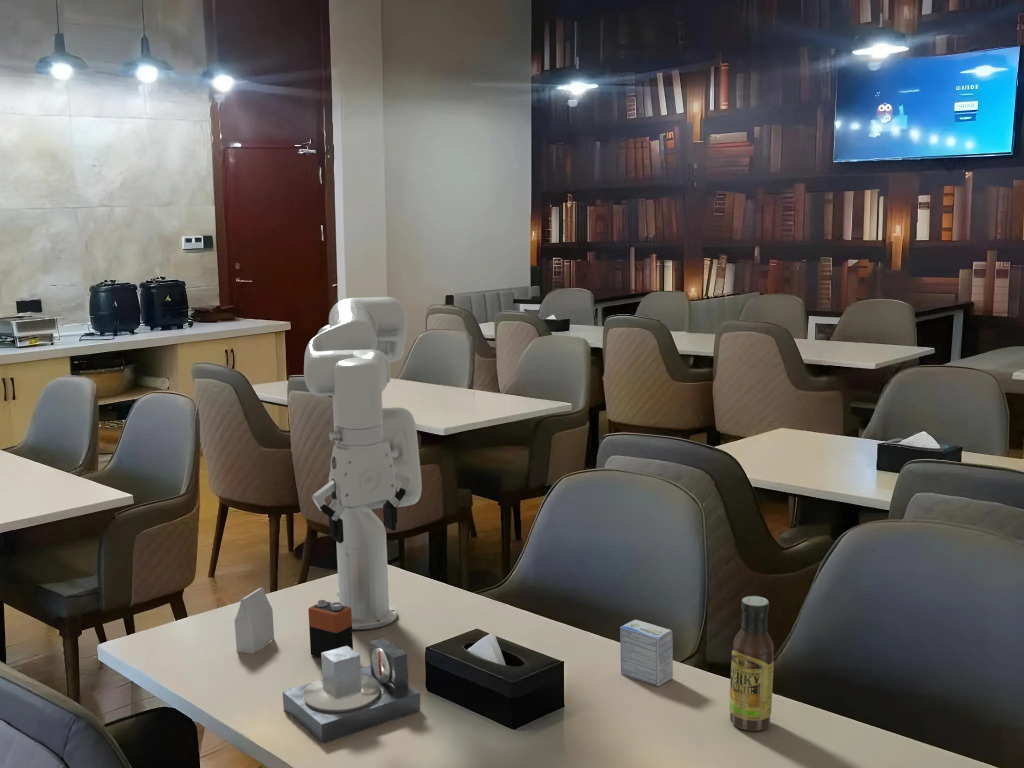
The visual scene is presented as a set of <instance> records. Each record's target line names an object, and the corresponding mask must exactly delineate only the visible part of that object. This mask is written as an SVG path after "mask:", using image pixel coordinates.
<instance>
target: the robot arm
mask: <svg viewBox="0 0 1024 768" xmlns="http://www.w3.org/2000/svg"><path fill="white" fill-rule="evenodd" d="M328 315H329V316H328V324H327V325H326V324H325V326H323V327H321V328H320V329H319V330H318V332H317V334H316V335H315V336H314V337H312V338H311V339H310V340H309V342H308V343H307V346H306V348H305V352H304V357H303V358H304V359H303V361H304V364H303V378H304V383H305V386H306V388H307V389H308V391H309V392H310V393H311V394H313V395H315V396H317V397H329V396H331V397H332V411H333V412H332V414H333V432H331V431H330V432H329V433H328V438H329V440H330V441H335V442H334V444H333V447H332V451H331V452H332V453H331V457H330V458H331V459H330V469H329V471H330V472H329V476H328V482H327V484H325V485H324V486H323V487H321V488H320V489H319V490H317V491H316V492H314V493H313V494H312V495H311V499H312V501H313V502H314V504H315V505H316V507H317V509H318V510H319V511H320V512H321V513H323V514H324V515H326V516H327V517H328V531H329V537H331V538H332V540H333V541H335V542H336V561H337V562H336V563H337V577H338V578H337V581H338V591H337V592H336V597H338V602H341V603H342V605H344V606H348V607H350V608H351V614H352V630H355V631H357V630H358V631H359V630H371V629H378V628H382V627H385V626H387V625H389V624H391V623H393V622H394V621H395V620H396V619H397V617H398V608H397V607H396V606H395V605H393V604H391V603H390V599H389V596H390V595H389V578H388V577H389V575H388V574H389V571H388V548H387V532H386V529H388V530H390V531H394V532H395V531H396V530H397V524H398V508H399V507H408V506H412V505H415V504H416V503H418V501H420V498H421V496H422V490H423V489H422V487H423V486H422V471H421V464H420V463H421V461H420V454H419V453H420V451H419V442H418V441H419V440H418V432H417V426H416V422H415V418H414V415H413V414H412V413H411V411H410V410H409V409H407V408H403V407H397V406H395V407H392V406H391V407H383V392H384V390H385V389H386V387H387V385H388V384H389V383H390V382H391V378H392V377H391V376H392V368H391V367H392V365H391V363H395V362H398V361H400V360H401V359H402V358H403V356H404V354H405V349H406V342H407V333H408V319H407V318H408V317H407V313H406V310H405V307H404V306H403V304H402V302H401V301H400V300H398V298H396V297H392V296H374V297H373V296H372V297H371V296H370V297H369V296H368V297H349V298H344V299H341V300H339V301H338V302H336V303H335V304H334V305H333V306H332V308H331V309H330V312H329V314H328ZM328 496H330V499H331V502H330V504H329V506H328V504H327V502H326V498H327V497H328ZM380 508H382V514H383V516H382V517H383V522H382V520H381V519H380V518H379V517H378V515H376V513H374V511H373V510H374V509H380Z"/></svg>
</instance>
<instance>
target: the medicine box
mask: <svg viewBox="0 0 1024 768" xmlns="http://www.w3.org/2000/svg"><path fill="white" fill-rule="evenodd" d="M619 629H620V632H619V633H620V634H619V635H620V636H619V637H620V638H619V639H620V674H621V675H623V676H627V677H629V678H633V679H635V680H638V681H641V682H644V683H647V684H650V685H653V686H656V687H660V686H662V685H664V684H665V683H667V682H668V681H670V680H672V679H673V677H674V669H673V665H674V664H673V663H674V662H673V661H674V659H673V658H674V657H673V655H674V654H673V653H674V651H673V650H674V649H673V642H674V641H673V630H671V629H669V628H665V627H662V626H658V625H655V624H653V623H648V622H646V621H642V620H639V619H634V620H631V621H629V622H627V623H625V624H624V625H622V626H620V628H619Z"/></svg>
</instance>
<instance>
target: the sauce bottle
mask: <svg viewBox="0 0 1024 768" xmlns="http://www.w3.org/2000/svg"><path fill="white" fill-rule="evenodd" d="M740 607H741V608H740V609H741V623H740V625H741V626H740V630H739V631H738V632H737V634H736V635H735V637H734V640H733V643H732V650H731V662H730V663H731V666H730V684H729V688H730V689H729V711H730V713H729V715H730V716H729V721H730V722H731V723H732V724H733V725H734V726H735V727H737V728H739V729H740V730H741V729H742V730H745V731H749V732H761V731H764V730H766V729H768V728H769V727H770V724H771V715H772V708H773V707H772V703H773V686H774V685H773V684H774V683H773V681H774V664H775V663H774V662H775V659H774V653H775V651H774V650H775V646H774V645H775V644H774V641H773V638H772V636H771V635H770V633H769V632H768V614H769V612H770V611H769V610H770V602H769V600H768V599H767V598H765V597H762V596H759V595H752V596H751V595H749V596H745V597H742V599H741V604H740Z"/></svg>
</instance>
